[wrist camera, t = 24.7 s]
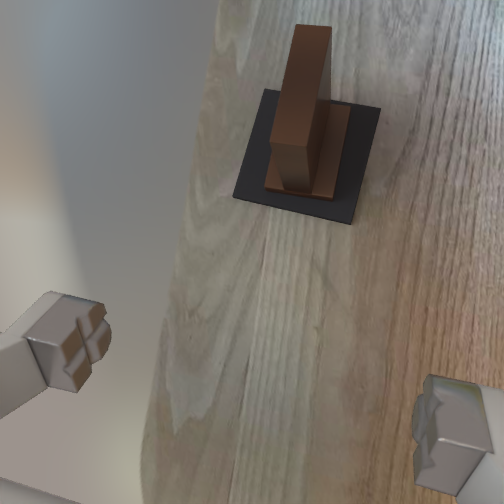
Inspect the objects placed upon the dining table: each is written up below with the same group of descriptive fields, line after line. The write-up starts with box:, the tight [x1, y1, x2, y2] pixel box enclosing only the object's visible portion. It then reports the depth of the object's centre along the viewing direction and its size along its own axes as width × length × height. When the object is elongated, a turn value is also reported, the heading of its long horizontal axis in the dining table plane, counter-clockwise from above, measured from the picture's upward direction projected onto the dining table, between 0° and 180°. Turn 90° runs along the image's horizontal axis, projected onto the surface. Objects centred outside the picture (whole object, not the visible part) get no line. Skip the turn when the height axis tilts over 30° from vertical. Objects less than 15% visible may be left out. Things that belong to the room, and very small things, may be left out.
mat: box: [233, 89, 381, 225], centre depth 31 cm, size 9×9×1 cm
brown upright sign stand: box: [264, 24, 351, 202], centre depth 26 cm, size 7×5×9 cm
